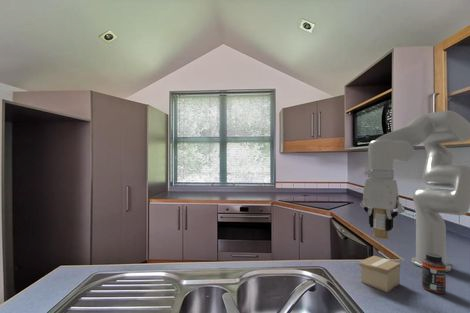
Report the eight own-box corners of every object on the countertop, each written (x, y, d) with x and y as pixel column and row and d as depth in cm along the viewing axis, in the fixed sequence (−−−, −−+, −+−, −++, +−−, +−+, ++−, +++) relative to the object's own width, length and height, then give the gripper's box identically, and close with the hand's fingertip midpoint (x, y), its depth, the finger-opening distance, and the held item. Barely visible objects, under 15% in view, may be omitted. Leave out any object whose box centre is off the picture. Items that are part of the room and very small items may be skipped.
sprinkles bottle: (374, 235, 86) (375, 197, 86) (389, 237, 83) (389, 198, 83) (371, 237, 83) (371, 198, 83) (386, 240, 80) (386, 199, 80)
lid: (374, 258, 89) (374, 254, 89) (400, 266, 82) (400, 262, 82) (358, 265, 82) (358, 261, 82) (385, 275, 75) (385, 270, 75)
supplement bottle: (439, 296, 75) (438, 259, 75) (418, 287, 80) (418, 252, 80) (449, 292, 77) (449, 256, 77) (428, 284, 82) (428, 250, 83)
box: (374, 274, 88) (374, 258, 89) (399, 283, 82) (399, 266, 82) (361, 282, 82) (361, 264, 83) (387, 292, 76) (387, 273, 76)
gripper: (351, 174, 88) (351, 224, 87) (404, 177, 75) (404, 236, 74) (361, 174, 93) (361, 222, 92) (413, 176, 79) (413, 232, 78)
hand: (380, 227), depth 83 cm, fingers closed on sprinkles bottle, 4 cm apart
